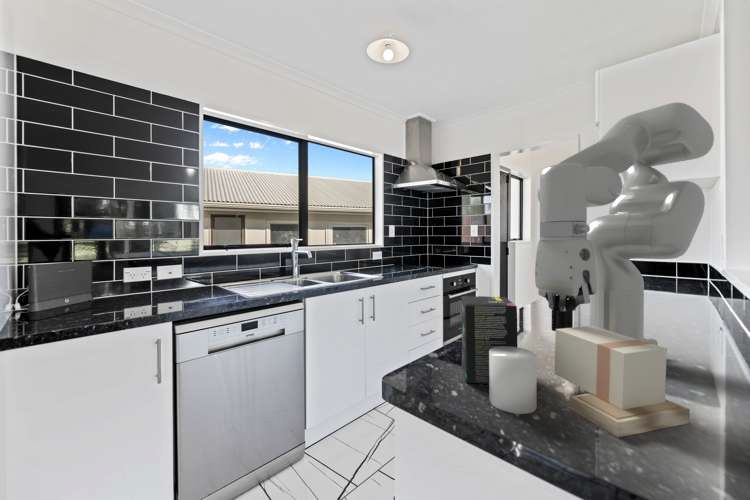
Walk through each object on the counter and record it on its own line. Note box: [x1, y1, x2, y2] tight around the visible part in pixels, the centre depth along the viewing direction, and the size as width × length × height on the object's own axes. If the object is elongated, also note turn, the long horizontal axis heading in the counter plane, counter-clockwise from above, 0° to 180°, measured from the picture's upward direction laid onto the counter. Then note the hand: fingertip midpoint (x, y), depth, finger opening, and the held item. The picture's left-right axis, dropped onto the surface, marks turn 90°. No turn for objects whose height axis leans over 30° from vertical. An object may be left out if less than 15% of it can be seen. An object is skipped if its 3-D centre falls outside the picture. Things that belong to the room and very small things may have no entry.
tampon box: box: [461, 295, 518, 385], centre depth 63 cm, size 11×9×15 cm
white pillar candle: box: [488, 346, 538, 415], centre depth 52 cm, size 7×7×8 cm
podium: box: [569, 392, 691, 438], centre depth 47 cm, size 13×8×2 cm, turn 104°
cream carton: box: [554, 325, 668, 410], centre depth 52 cm, size 8×8×12 cm
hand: (562, 331), depth 60 cm, fingers closed
